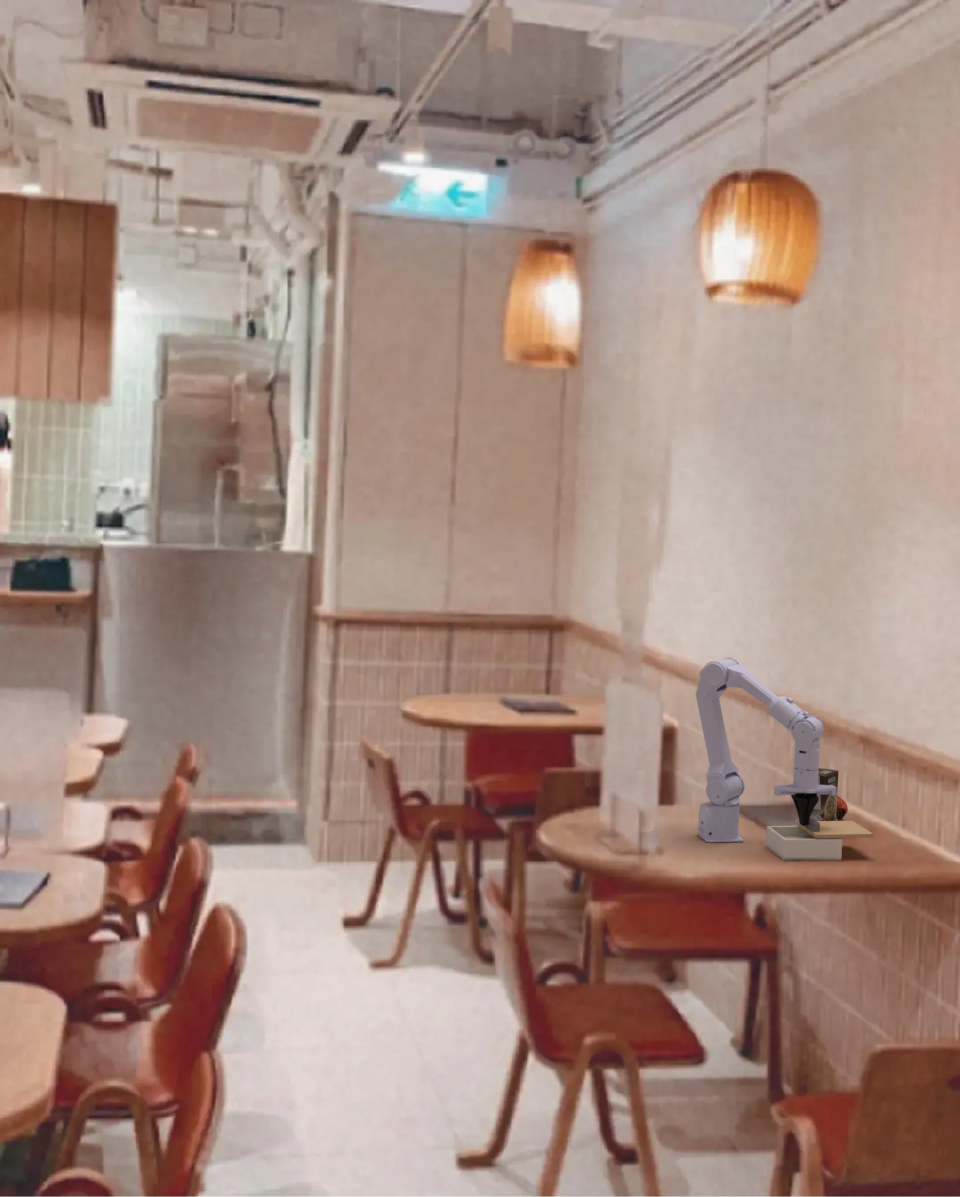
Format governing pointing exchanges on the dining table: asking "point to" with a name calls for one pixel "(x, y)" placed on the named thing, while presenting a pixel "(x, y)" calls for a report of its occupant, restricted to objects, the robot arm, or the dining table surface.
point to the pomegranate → (841, 808)
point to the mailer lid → (835, 829)
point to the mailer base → (801, 844)
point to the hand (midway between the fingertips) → (803, 824)
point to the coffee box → (826, 797)
